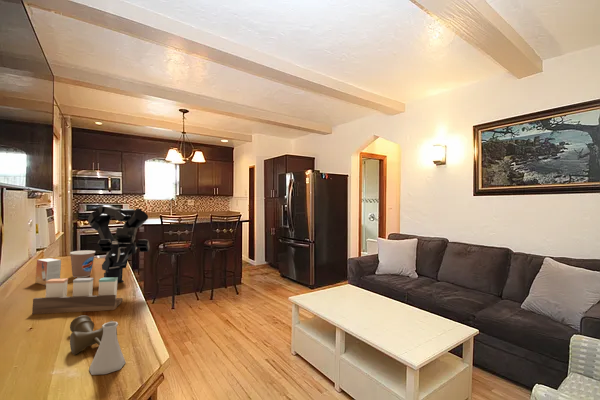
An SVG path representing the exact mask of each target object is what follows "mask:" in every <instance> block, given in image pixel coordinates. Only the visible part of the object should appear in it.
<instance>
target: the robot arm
mask: <svg viewBox="0 0 600 400" xmlns="http://www.w3.org/2000/svg"><path fill="white" fill-rule="evenodd" d="M112 217H114V220H116V221H118V222H124V224H123V225H122V227H116V231H115V237H116V240H115V238H114V236H113V233H112V231H111V229H110V227H109V225H110V222H111V220H112ZM148 218H149V215H148V213H147V212H145V211H143V210H142V208H136V209H134V208H119V207H115V206H113V205H100V206H99V207H98V208H97V209H95V210H93V211H92V212H90V214H89V216H88V218H87V222H88V224H89V226H90V227H91V228H92V229H93V230H95V231H96V232H97V233H98V236H99V238H100V239H99V240H98V242H97V246H98V249H99V251H100V252H102V253H106V256H105V258H104V261H103V263H102V264H101V270H103V271H104V273H103V278H106V277H118V280H117V284H118V283H124V282H125V281H124V280H123V271H124V269H126V268H127V266H128V262H129V258H130V257H131V256H132V255H133V254H136V253H137V249H138V248H139V251H140V253H147V252H149V251H150V241H149V239H137V242H134V241H136V235H137V231H138V228H141V227H142V226H143V225H144V223H145V222H146V221H147V220H148Z"/></svg>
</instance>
